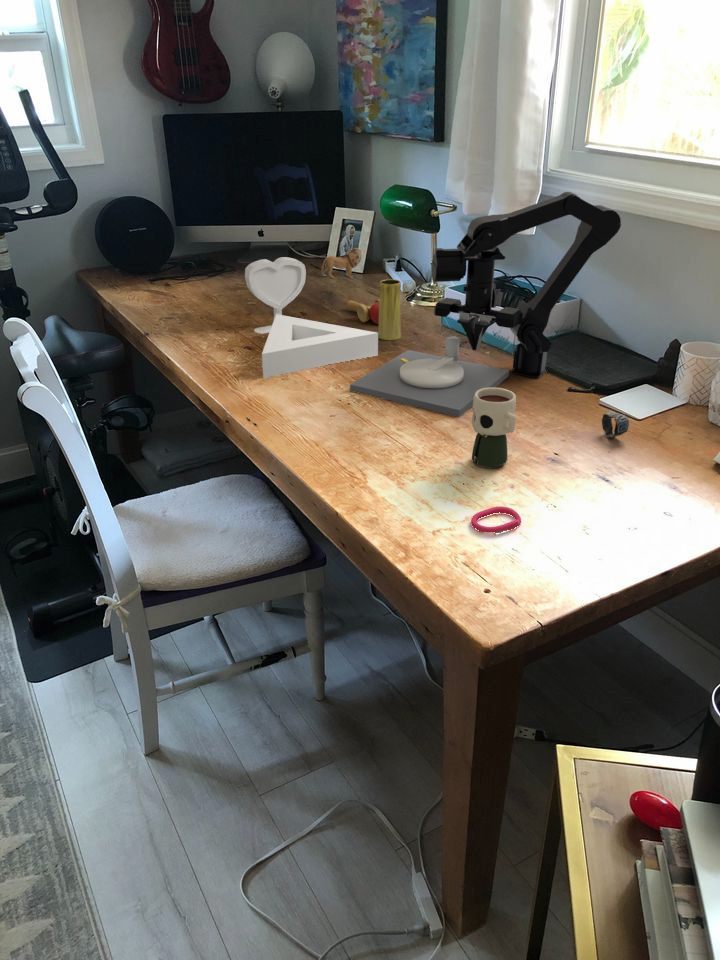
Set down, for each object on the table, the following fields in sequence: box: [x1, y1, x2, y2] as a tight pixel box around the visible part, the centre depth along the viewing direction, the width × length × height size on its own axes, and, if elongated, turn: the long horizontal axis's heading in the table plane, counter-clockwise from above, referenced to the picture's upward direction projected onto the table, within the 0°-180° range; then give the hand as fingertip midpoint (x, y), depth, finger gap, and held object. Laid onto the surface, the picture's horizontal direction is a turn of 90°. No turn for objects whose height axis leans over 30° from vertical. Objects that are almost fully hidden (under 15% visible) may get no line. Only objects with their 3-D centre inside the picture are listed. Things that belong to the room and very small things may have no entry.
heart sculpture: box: [244, 256, 307, 335], centre depth 199 cm, size 16×5×18 cm, turn 116°
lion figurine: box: [317, 247, 362, 279], centre depth 248 cm, size 15×5×9 cm, turn 104°
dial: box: [400, 335, 464, 388], centre depth 168 cm, size 18×14×6 cm
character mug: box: [470, 387, 517, 469], centre depth 132 cm, size 11×7×13 cm, turn 30°
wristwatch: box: [601, 411, 630, 438], centre depth 143 cm, size 3×5×5 cm, turn 16°
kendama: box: [346, 298, 380, 325], centre depth 210 cm, size 8×6×18 cm
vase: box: [377, 278, 402, 341], centre depth 193 cm, size 6×6×14 cm
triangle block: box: [261, 314, 379, 379], centre depth 180 cm, size 30×26×6 cm
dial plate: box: [349, 349, 510, 418], centre depth 168 cm, size 26×26×2 cm
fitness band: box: [470, 506, 522, 534], centre depth 118 cm, size 8×6×2 cm
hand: (475, 349), depth 170 cm, fingers closed
